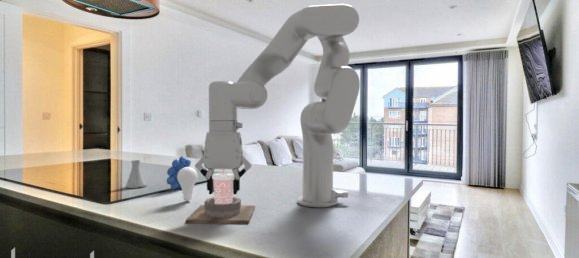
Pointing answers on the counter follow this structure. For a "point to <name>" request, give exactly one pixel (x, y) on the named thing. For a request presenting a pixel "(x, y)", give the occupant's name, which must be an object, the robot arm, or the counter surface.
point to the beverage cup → (223, 187)
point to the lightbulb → (187, 181)
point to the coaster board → (221, 212)
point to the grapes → (176, 171)
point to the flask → (135, 176)
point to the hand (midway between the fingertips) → (223, 192)
